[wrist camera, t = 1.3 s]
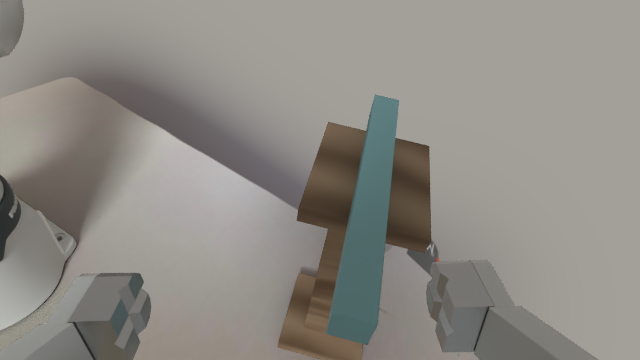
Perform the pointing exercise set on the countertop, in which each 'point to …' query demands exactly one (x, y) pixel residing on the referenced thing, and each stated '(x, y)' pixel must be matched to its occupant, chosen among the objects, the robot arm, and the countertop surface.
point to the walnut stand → (333, 213)
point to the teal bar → (366, 231)
